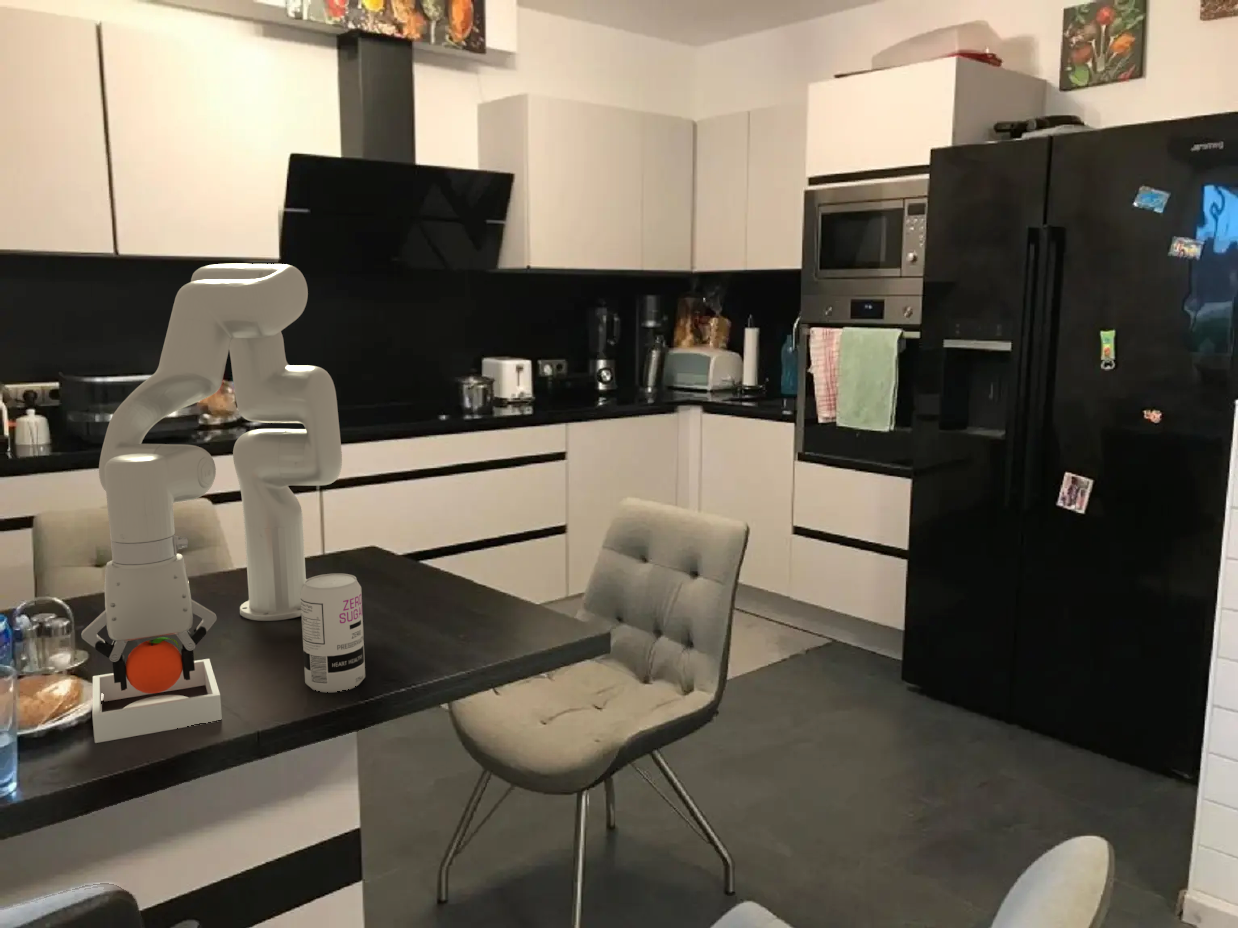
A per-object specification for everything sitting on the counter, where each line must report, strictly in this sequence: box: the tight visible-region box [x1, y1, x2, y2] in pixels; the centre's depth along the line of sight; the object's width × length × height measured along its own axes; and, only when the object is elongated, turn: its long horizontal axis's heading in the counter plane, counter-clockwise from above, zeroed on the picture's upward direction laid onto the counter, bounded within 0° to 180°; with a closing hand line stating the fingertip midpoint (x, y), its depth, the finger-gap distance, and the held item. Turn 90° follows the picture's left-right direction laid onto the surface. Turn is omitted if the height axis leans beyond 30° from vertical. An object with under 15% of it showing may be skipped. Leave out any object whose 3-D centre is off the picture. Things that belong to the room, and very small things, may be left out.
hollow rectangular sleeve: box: [91, 658, 223, 744], centre depth 134 cm, size 15×15×4 cm
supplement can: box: [300, 573, 366, 693], centre depth 142 cm, size 8×8×15 cm
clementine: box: [125, 637, 183, 694], centre depth 133 cm, size 8×7×7 cm
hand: (155, 680), depth 134 cm, fingers closed on clementine, 6 cm apart
